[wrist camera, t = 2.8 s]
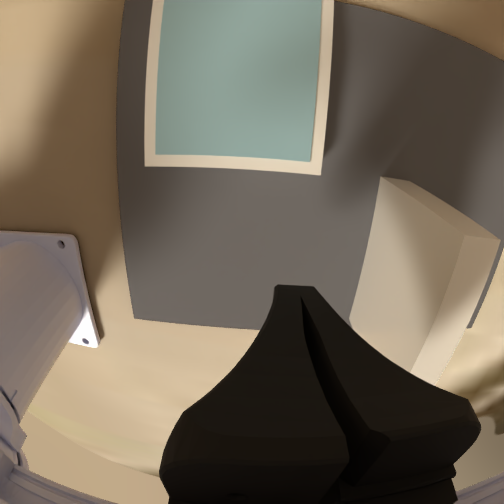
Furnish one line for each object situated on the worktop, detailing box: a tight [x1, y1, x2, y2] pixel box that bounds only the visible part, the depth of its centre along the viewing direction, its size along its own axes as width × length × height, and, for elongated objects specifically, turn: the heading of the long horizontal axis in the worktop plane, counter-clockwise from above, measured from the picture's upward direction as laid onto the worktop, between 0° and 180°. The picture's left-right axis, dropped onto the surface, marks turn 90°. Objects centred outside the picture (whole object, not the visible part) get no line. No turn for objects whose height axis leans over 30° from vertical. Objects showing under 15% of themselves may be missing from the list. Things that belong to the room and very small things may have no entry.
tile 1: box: [144, 0, 334, 175], centre depth 11 cm, size 7×8×2 cm
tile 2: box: [349, 176, 501, 386], centre depth 12 cm, size 2×8×7 cm, turn 176°
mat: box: [116, 0, 504, 330], centre depth 14 cm, size 22×17×1 cm
